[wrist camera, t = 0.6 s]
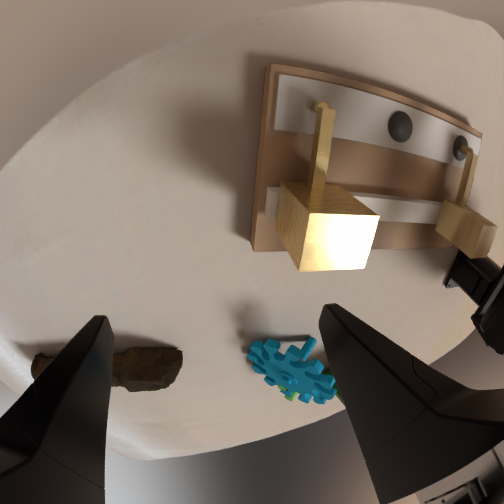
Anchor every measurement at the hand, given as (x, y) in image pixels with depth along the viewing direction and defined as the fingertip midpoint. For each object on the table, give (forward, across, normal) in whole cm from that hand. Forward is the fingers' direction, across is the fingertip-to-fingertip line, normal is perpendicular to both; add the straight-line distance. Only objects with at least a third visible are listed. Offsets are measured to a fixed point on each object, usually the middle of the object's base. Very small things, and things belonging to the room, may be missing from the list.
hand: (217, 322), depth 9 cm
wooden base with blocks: (+12, -15, -3) cm, 19 cm away
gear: (+12, -8, +17) cm, 23 cm away
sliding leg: (+10, -7, -3) cm, 12 cm away
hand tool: (+13, +12, +17) cm, 24 cm away
